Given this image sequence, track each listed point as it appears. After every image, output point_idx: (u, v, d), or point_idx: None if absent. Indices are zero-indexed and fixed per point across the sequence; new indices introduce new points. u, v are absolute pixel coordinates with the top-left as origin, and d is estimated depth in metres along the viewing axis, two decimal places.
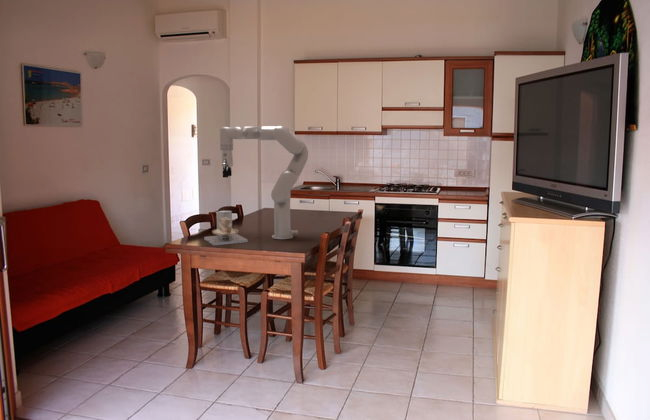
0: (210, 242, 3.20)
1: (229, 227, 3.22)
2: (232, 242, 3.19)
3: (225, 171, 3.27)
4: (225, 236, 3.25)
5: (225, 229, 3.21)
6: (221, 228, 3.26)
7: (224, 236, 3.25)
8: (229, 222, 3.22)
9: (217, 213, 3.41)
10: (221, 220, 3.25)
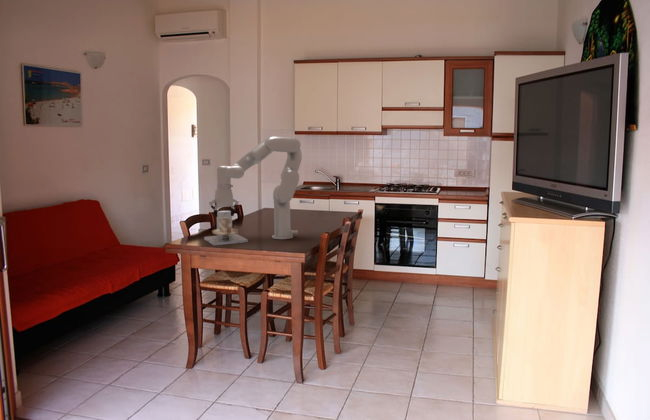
0: (210, 242, 3.20)
1: (229, 227, 3.22)
2: (232, 242, 3.19)
3: None
4: (225, 236, 3.25)
5: (225, 229, 3.21)
6: (221, 228, 3.26)
7: (224, 236, 3.25)
8: (229, 222, 3.22)
9: (217, 213, 3.41)
10: (221, 220, 3.25)
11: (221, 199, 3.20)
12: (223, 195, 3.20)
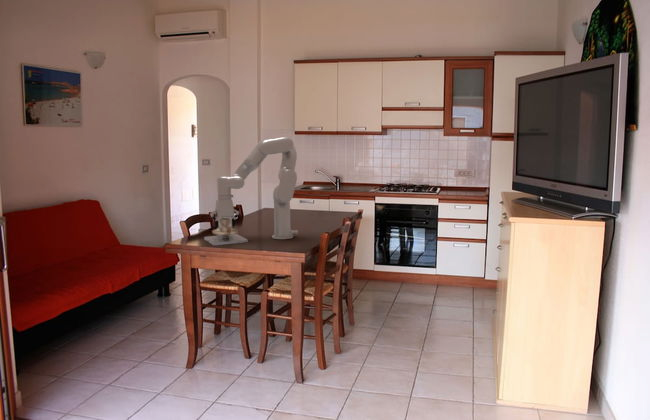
0: (210, 242, 3.20)
1: (229, 227, 3.22)
2: (232, 242, 3.19)
3: None
4: (225, 236, 3.25)
5: (225, 229, 3.21)
6: (221, 228, 3.26)
7: (224, 236, 3.25)
8: (229, 222, 3.22)
9: None
10: (221, 220, 3.25)
11: (222, 210, 3.21)
12: (223, 205, 3.21)
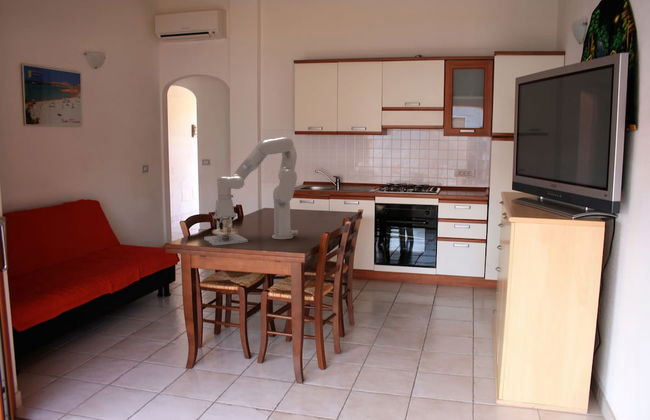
0: (210, 242, 3.20)
1: (229, 227, 3.22)
2: (232, 242, 3.19)
3: None
4: (225, 236, 3.25)
5: (225, 229, 3.21)
6: None
7: (224, 236, 3.25)
8: (229, 222, 3.22)
9: None
10: None
11: (222, 210, 3.21)
12: (223, 205, 3.21)
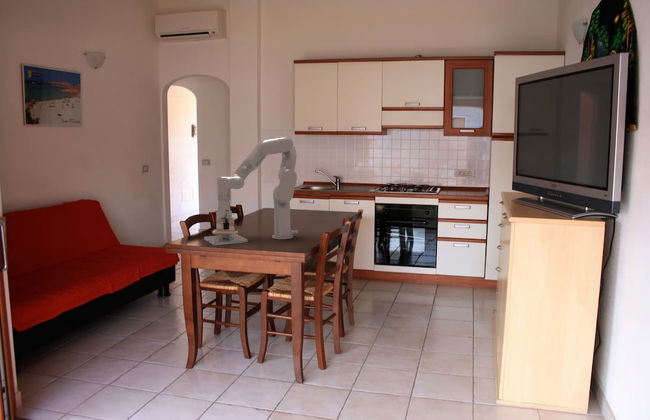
0: (210, 242, 3.20)
1: None
2: (232, 242, 3.19)
3: None
4: (228, 235, 3.27)
5: None
6: (223, 229, 3.24)
7: (228, 236, 3.26)
8: None
9: (217, 213, 3.41)
10: None
11: None
12: None
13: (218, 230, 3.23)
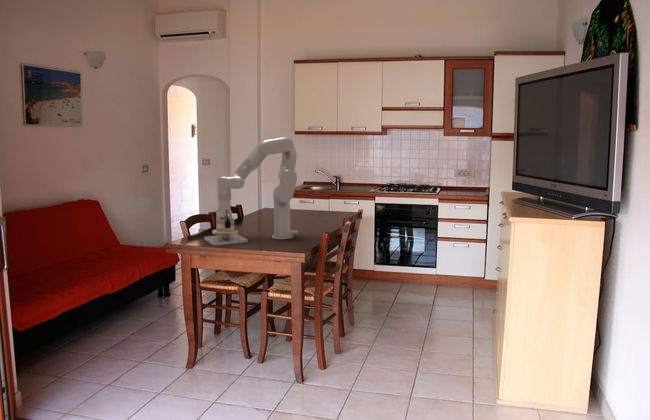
0: (210, 242, 3.20)
1: None
2: (232, 242, 3.19)
3: None
4: (228, 235, 3.27)
5: None
6: (223, 229, 3.24)
7: (228, 236, 3.26)
8: None
9: (217, 213, 3.41)
10: (224, 220, 3.23)
11: None
12: None
13: (218, 230, 3.23)
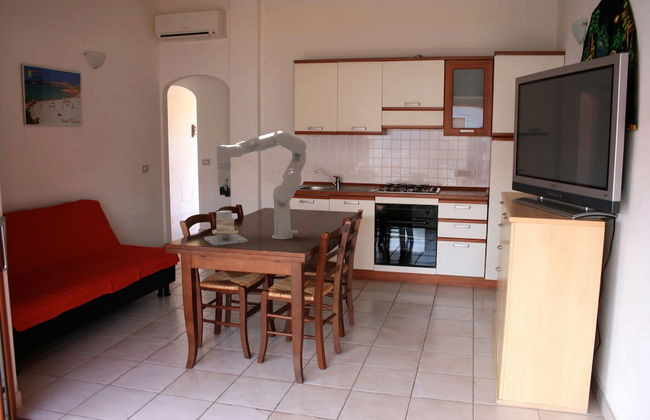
0: (210, 242, 3.20)
1: None
2: (232, 242, 3.19)
3: None
4: (228, 235, 3.27)
5: None
6: (223, 229, 3.24)
7: (228, 236, 3.26)
8: None
9: (217, 213, 3.41)
10: (224, 220, 3.23)
11: None
12: None
13: (218, 230, 3.23)
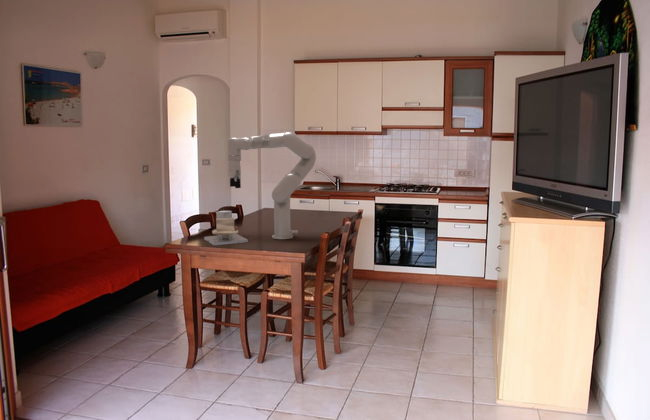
0: (210, 242, 3.20)
1: None
2: (232, 242, 3.19)
3: None
4: (228, 235, 3.27)
5: None
6: (223, 229, 3.24)
7: (228, 236, 3.26)
8: None
9: (217, 213, 3.41)
10: (224, 220, 3.23)
11: None
12: None
13: (218, 230, 3.23)
